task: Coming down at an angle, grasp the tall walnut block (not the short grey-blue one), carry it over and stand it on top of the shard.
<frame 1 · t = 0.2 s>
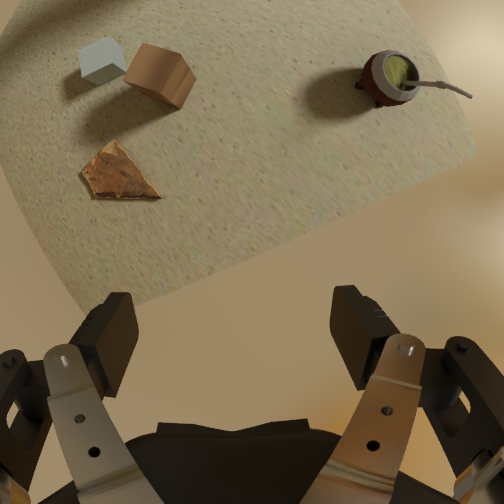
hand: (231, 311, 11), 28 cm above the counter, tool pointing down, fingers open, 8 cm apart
grey-blue block: (110, 66, 32), on the counter
walnut block: (173, 88, 34), on the counter
shard: (124, 168, 37), on the counter
mate gourd: (377, 88, 34), on the counter
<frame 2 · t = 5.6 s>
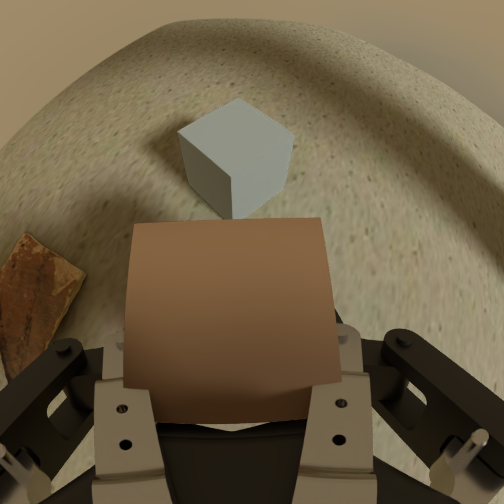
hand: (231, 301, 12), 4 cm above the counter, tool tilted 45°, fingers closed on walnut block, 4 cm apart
grey-blue block: (236, 186, 20), on the counter
walnut block: (235, 355, 15), on the counter, touching gripper
shard: (48, 319, 16), on the counter
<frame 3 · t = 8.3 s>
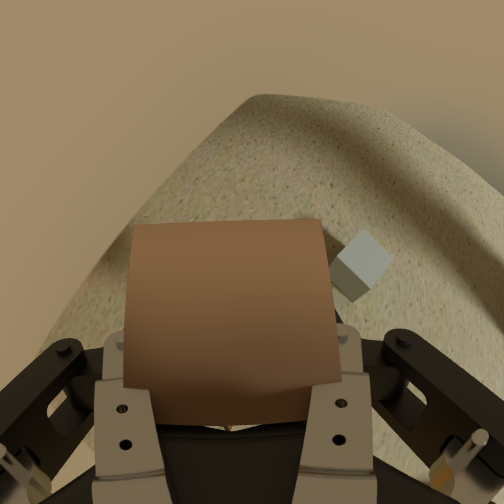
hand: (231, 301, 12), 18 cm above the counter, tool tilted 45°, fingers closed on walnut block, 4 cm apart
grey-blue block: (350, 275, 32), on the counter
walnut block: (235, 356, 15), point 14 cm above the counter, touching gripper
when the fingers open (7 cm above the counter, at t = 11.2 s): walnut block drops 2 cm, resting on shard.
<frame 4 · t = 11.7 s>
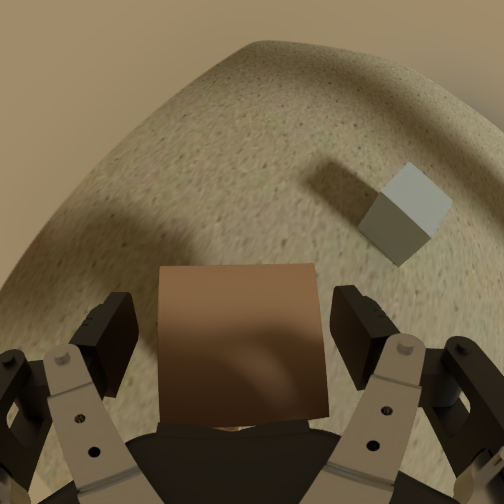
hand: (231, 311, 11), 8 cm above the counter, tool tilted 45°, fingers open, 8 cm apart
grey-blue block: (391, 230, 23), on the counter
walnut block: (231, 361, 17), point 1 cm above the counter, touching shard
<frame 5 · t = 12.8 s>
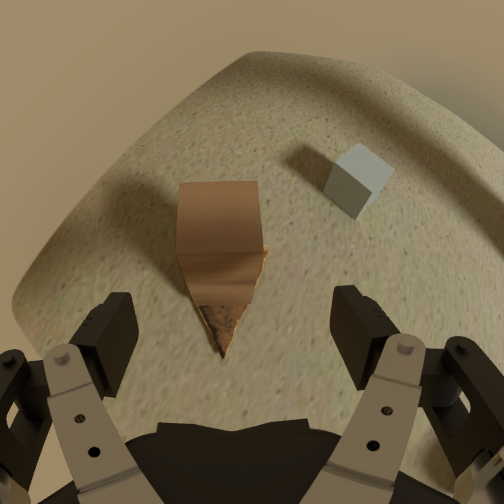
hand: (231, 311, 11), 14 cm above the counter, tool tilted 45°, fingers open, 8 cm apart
grey-blue block: (350, 195, 31), on the counter
walnut block: (221, 278, 25), point 1 cm above the counter
shard: (234, 282, 27), on the counter
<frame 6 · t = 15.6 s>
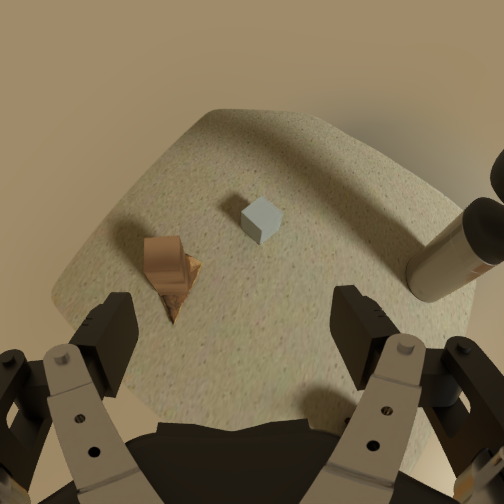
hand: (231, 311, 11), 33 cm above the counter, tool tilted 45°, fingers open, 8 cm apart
grey-blue block: (260, 228, 50), on the counter
walnut block: (174, 280, 45), point 1 cm above the counter, touching shard
shard: (183, 283, 47), on the counter, touching walnut block
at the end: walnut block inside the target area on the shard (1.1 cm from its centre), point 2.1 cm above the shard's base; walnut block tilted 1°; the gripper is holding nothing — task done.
